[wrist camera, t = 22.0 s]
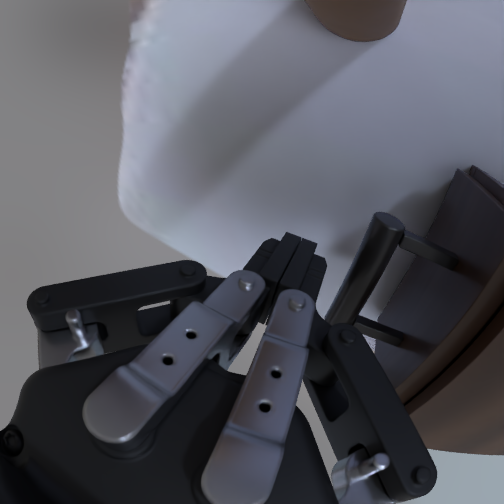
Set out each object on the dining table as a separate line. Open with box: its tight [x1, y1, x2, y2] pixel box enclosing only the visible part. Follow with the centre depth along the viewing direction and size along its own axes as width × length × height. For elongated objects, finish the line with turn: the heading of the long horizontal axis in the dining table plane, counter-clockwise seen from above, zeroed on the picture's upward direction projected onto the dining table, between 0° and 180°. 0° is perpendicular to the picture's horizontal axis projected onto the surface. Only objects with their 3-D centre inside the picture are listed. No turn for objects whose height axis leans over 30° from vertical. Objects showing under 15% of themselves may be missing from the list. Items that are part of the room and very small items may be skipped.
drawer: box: [325, 168, 504, 404], centre depth 11 cm, size 18×11×8 cm, turn 79°
